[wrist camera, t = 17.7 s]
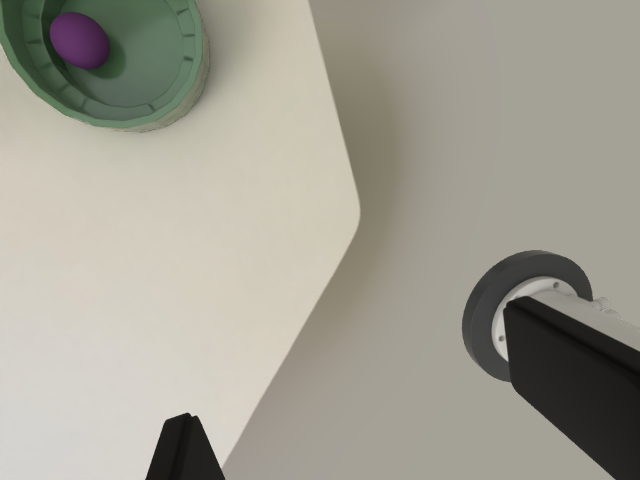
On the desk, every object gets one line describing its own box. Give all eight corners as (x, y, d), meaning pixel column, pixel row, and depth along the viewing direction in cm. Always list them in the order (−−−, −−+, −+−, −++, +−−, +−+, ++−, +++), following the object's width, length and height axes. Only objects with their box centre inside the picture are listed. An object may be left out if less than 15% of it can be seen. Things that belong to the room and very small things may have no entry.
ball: (99, 2, 26) (35, -1, 25) (113, 57, 27) (52, 57, 25) (105, 27, 30) (50, 26, 28) (117, 75, 31) (64, 77, 29)
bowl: (177, -59, 30) (163, -101, 25) (230, 111, 33) (226, 104, 29) (2, -27, 28) (-50, -66, 23) (78, 149, 32) (48, 147, 27)
